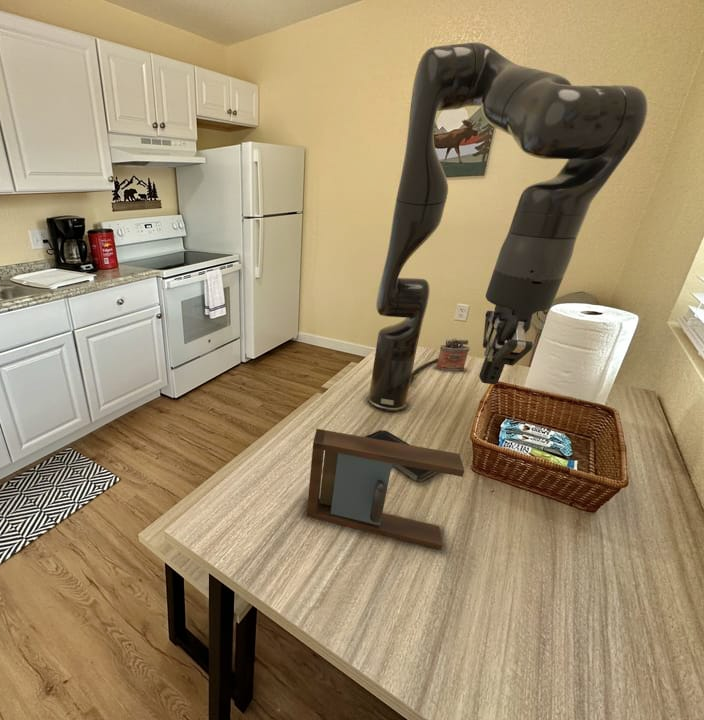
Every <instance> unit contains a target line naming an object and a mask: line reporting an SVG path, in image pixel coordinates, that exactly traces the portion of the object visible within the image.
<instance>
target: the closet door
mask: <svg viewBox="0 0 704 720" xmlns="http://www.w3.org/2000/svg"><path fill="white" fill-rule="evenodd" d="M392 468H393V466H392V463H388V462H383V461H378V460H372V459H367V458H362V457H357V456H352V455H346V454H341V453H338V457H337V465H336V474H335V482H334V490H333V498H332V506H331V514H333V515H338V516H342V517H346V518H350V519H354V520H358V521H362V522H366V523H370V524H375V525H379V526H380V524H381V518H382V513H384V508H385V503H386V498H387V493H388V487H389V483H390V477H391V472H392Z"/></svg>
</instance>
